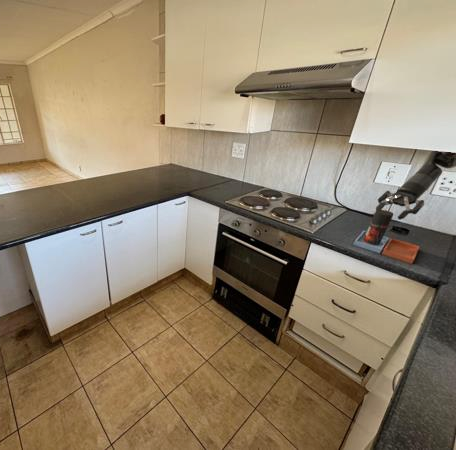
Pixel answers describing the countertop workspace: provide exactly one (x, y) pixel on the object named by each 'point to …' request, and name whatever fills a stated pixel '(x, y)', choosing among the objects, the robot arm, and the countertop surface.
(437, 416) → the countertop surface
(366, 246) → the blue tray
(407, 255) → the terracotta tray
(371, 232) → the deodorant
